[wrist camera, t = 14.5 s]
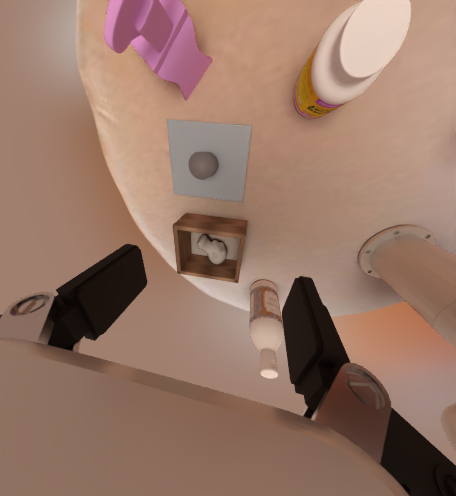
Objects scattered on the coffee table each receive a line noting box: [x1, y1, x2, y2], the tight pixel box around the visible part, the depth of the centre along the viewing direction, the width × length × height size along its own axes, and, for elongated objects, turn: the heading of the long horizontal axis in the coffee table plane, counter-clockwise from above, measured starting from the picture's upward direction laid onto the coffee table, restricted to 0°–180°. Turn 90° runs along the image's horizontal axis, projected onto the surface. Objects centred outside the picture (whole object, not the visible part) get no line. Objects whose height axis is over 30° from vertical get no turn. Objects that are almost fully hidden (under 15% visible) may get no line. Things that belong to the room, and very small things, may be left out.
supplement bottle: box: [294, 0, 411, 118], centre depth 18 cm, size 7×7×13 cm
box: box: [173, 213, 247, 283], centre depth 35 cm, size 14×12×7 cm
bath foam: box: [249, 280, 283, 378], centre depth 36 cm, size 7×7×20 cm
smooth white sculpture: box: [197, 235, 227, 264], centre depth 38 cm, size 4×8×5 cm
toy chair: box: [104, 0, 212, 101], centre depth 17 cm, size 8×9×15 cm
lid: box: [167, 119, 252, 202], centre depth 28 cm, size 14×12×6 cm
